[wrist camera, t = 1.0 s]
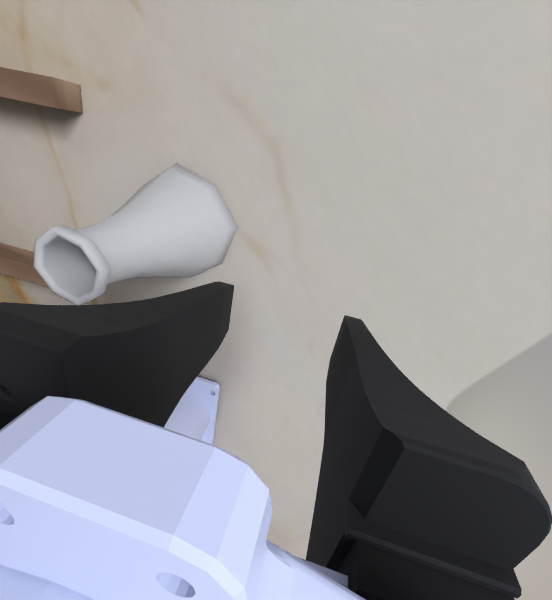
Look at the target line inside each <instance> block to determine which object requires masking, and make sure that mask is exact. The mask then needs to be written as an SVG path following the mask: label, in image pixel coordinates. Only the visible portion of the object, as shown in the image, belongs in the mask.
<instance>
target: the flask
mask: <svg viewBox="0 0 552 600" xmlns="http://www.w3.org/2000/svg"><path fill="white" fill-rule="evenodd" d="M237 227H238V226H237V225H236V223H235V221H234V219H233V217H232V215H231V213H230V211H229V209H228V207H227V205H226V203H225V201H224V200H223V198H222V196H221V194H220V192H219V190H218V188H217V186H216V185H215V184H213V183H211V182H210V181H208V180H206V179H204V178H202V177H201V176H199V175H197V174H195V173H193V172H191V171H190V170H188V169H186V168H184V167H182V166H181V165H179V164H177V163H176V164H175V165H173V166H172V167H170V168H169V169H167V170H166V171H164V172H163V173H161V174H160V175H158V176H157V177H155V178H154V179H152V180H151V181H149V182H148V183H146V184H145V185H144V186H143V187H141V188H140V189H139V190H138V191H137V192H136V193H135V194H134V195H133V196H132V197H131V198H130V199H129V200H128V201H127V202H126V204H124V205H123V206H122V207H121V208H120V209H119V210H118V211H116V212H115V213H114V214H113V215H112V216H111V217H109V218H107V219H105V220H103V221H101V222H100V223H98V224H96V225H92V226H88V227H84V228H81V229H77V230H72V229H70V228H68V227H67V226H64V225H58V226H54V227H53V228H51V229H50V230H48V231H47V232H46V233H44V234H43V235H41V236H40V237H38V238H37V239H36V240H35V246H34V262H33V267H34V268H35V269H36V271H37V272H38V273H39V275H40V276H41V277H42V279H43V280H44V281H45V283H46V284H47V285H48V286H49V288H50V289H51V290H52V292H53V293H55V294H57V295H59V296H61V297H62V298H64V299H66V300H68V301H70V302H71V303H73V304H75V305H83V304H85V303H87V302H89V301H91V300H93V299H95V298H97V297H99V296H101V295H102V294H103V293H104V292H105V290H106V286H107V285H108V284H110V283H114V282H118V281H122V280H126V279H130V278H134V277H155V276H171V277H192V276H195V275H197V274H199V273H201V272H203V271H205V270H207V269H210V268H212V267H214V266H216V265H218V264H220V263H222V262H223V260H224V258H225V255H226V253H227V251H228V248H229V246H230V243H231V241H232V239H233V236H234V234H235V231H236V229H237Z"/></svg>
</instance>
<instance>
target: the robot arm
mask: <svg viewBox="0 0 552 600" xmlns="http://www.w3.org/2000/svg"><path fill="white" fill-rule="evenodd" d="M233 291H234V285H230V284H227V283H223V282H214V283H210V284H206V285H202V286H199V287H195V288H192V289H188V290H185V291H181V292H177V293H173V294H169V295H165V296H161V297H157V298H152V299H146V300H140V301H133V302H125V303H114V304H101V305H76V306H75V305H37V304H20V303H6V302H2V303H0V600H514V597H515V598H518V597H520V596H521V587H520V585H519V582H518V580H517V577H516V575H515V572H514V569H513V568H514V567H516V566H517V565H518V564H519V563H520V562H521V561H522V560H523V559H525V558H526V557H527V556H528V555H529V554H530V553H531V552H532V551H533V550H535V549H536V548H537V547H538V546H539V545H540V544H541V543H542V541H543V540H544V539H545V537H546V536H547V535H548V533H549V532H550V528H551V524H552V515H551V511H550V508H549V505H548V503H547V501H546V499H545V498H544V496H543V494H542V493H541V491H540V489H539V487H538V485H537V484H536V482H535V480H534V478H533V477H532V475H531V473H530V471H529V470H528V468H527V466H526V464H525V463H524V462H523V461H521V460H520V459H518V458H517V457H515V456H513V455H512V454H510V453H508V452H507V451H505V450H503V449H502V448H500V447H499V446H497V445H495V444H494V443H492V442H490V441H489V440H487V439H485V438H483V437H482V436H480V435H479V434H477V433H476V432H474V431H473V430H471V429H470V428H469V427H467V426H465V425H464V424H463V423H461V422H460V421H458V420H457V419H456V418H454V417H453V416H452V415H450V414H449V413H447V412H446V411H445V410H443V409H442V408H441V407H440V406H438V405H437V404H436V403H435V402H434V401H432V400H431V399H430V398H429V397H427V396H426V395H425V394H424V393H423V392H422V391H421V390H419V389H418V388H417V387H416V386H415V385H414V384H413V383H412V382H411V381H410V380H409V379H408V378H407V377H406V376H405V375H404V374H403V373H402V372H401V371H400V370H399V369H398V368H397V367H396V365H395V364H394V363H393V362H392V361H391V360H390V358H389V357H388V356H387V355H386V354H385V352H384V351H383V350H382V348H381V347H380V346H379V344H378V343H377V342H376V340H375V339H374V337H373V336H372V334H371V333H370V332H369V330H368V329H367V327H366V326H365V324H364V323H363V321H362V320H361V319H357V318H353V317H349V316H346V315H345V316H344V319H343V322H342V325H341V328H340V331H339V334H338V337H337V340H336V343H335V346H334V349H333V352H332V355H331V358H330V363H329V369H328V375H327V381H326V407H325V435H324V446H323V454H322V461H321V468H320V475H319V481H318V488H317V495H316V501H315V508H314V514H313V520H312V526H311V532H310V539H309V544H308V550H307V556H306V560H304V559H301V558H299V557H296V556H294V555H292V554H290V553H288V552H287V551H285V550H283V549H282V548H280V547H279V546H277V545H275V544H274V543H272V542H271V541H269V540H267V534H268V530H269V526H270V521H271V517H272V507H271V499H270V491H269V489H268V487H267V486H266V485H265V483H264V482H263V481H262V480H261V478H260V477H259V476H258V475H257V474H256V473H255V471H254V470H253V469H252V468H251V467H250V465H249V464H248V463H247V462H246V461H244V460H242V459H240V458H239V457H237V456H235V455H233V454H231V453H229V452H228V451H226V450H224V449H222V448H220V447H218V446H216V445H213V439H214V431H215V423H216V415H217V407H218V400H219V392H220V386H219V384H218V383H216V382H213V381H210V380H207V379H204V378H201V377H198V375H199V373H200V372H201V371H202V370H203V368H204V367H205V366H206V364H207V363H208V362H209V360H210V359H211V358H212V356H213V355H214V354H215V352H216V351H217V350H218V348H219V346H220V344H221V343H222V341H223V339H224V337H225V335H226V333H227V332H228V329H229V322H230V314H231V306H232V298H233ZM213 391H214V392H213Z"/></svg>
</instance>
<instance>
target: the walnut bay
mask: <svg viewBox="0 0 552 600" xmlns="http://www.w3.org/2000/svg"><path fill="white" fill-rule="evenodd" d="M0 97H5V98H10V99H14V100H19V101H24V102H29V103H34V104H38V105H43V106H48V107H53V108H58V109H64V110H69V111H75V112H80V113H83V111H82V100H81V90H80V85H78V84H74V83H71V82H67V81H64V80H60V79H57V78H53V77H48V76H43V75H38V74H33V73H28V72H22V71H17V70H12V69H7V68H2V67H0ZM33 262H34V252H31V251H27V250H23V249H20V248H16V247H13V246H9V245H5V244H2V243H0V273H2V274H5V275H9V276H12V277H15V278H19V279H22V280H26V281H29V282H33V283H36V284H39V285H43V286H46V287H49V286H48V285H47V284H46V283H45V281H44V280H43V279H42V277H41V276H40V275H39V273H38V272H37V271H36V269H35V268H34V267H33Z"/></svg>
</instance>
